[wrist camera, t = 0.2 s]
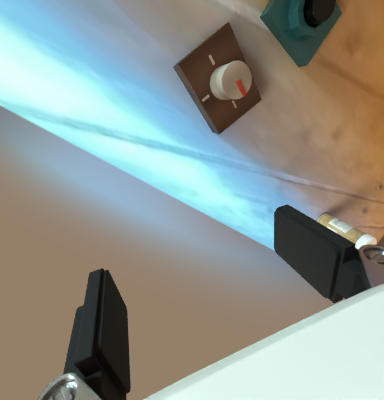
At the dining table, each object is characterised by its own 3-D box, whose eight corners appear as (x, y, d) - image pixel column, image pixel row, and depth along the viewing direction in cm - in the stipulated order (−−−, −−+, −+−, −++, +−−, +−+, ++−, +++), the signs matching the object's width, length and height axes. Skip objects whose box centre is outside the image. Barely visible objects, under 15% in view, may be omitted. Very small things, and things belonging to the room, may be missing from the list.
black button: (298, 11, 34) (307, 6, 32) (316, -17, 33) (326, -24, 31) (312, 32, 36) (322, 29, 34) (329, 7, 35) (340, 2, 33)
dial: (204, 78, 34) (216, 74, 30) (228, 58, 34) (243, 52, 29) (219, 106, 36) (232, 106, 32) (241, 87, 36) (257, 85, 32)
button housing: (259, 17, 35) (275, 7, 32) (296, -44, 34) (317, -61, 30) (298, 67, 41) (315, 63, 37) (332, 17, 39) (353, 8, 36)
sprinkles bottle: (314, 226, 62) (359, 255, 50) (319, 213, 60) (367, 239, 48) (325, 225, 63) (372, 253, 51) (331, 212, 61) (380, 237, 50)
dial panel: (173, 67, 34) (177, 63, 32) (220, 28, 34) (229, 21, 31) (212, 132, 41) (219, 134, 38) (252, 99, 41) (262, 99, 38)
